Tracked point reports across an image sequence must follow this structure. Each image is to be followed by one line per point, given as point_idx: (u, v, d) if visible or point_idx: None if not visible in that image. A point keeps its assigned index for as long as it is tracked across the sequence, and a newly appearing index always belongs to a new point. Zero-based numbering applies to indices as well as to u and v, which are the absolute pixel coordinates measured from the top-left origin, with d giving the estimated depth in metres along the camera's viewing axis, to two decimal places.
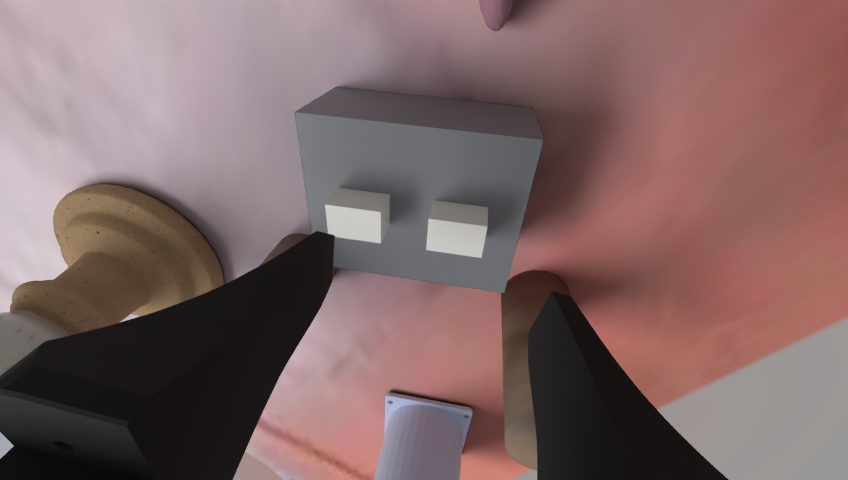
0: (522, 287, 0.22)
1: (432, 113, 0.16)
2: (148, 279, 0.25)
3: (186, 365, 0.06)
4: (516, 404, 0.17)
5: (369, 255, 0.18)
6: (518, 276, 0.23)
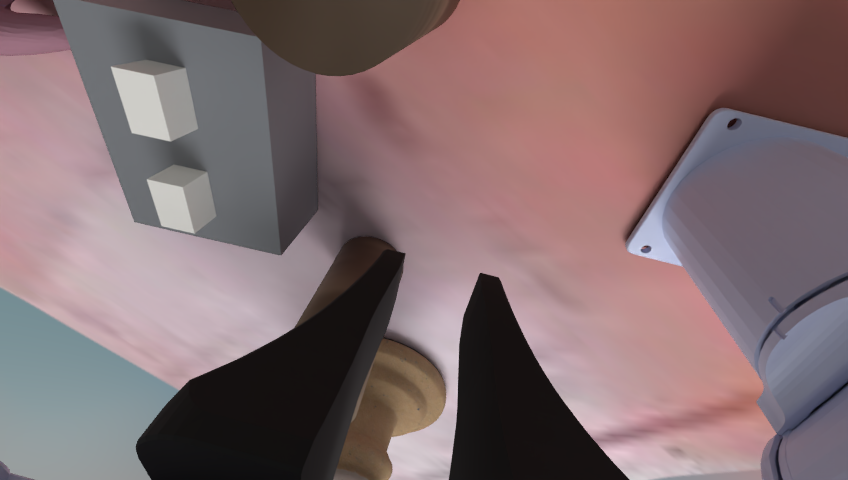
0: None
1: None
2: None
3: (325, 401, 0.06)
4: None
5: (252, 200, 0.17)
6: None
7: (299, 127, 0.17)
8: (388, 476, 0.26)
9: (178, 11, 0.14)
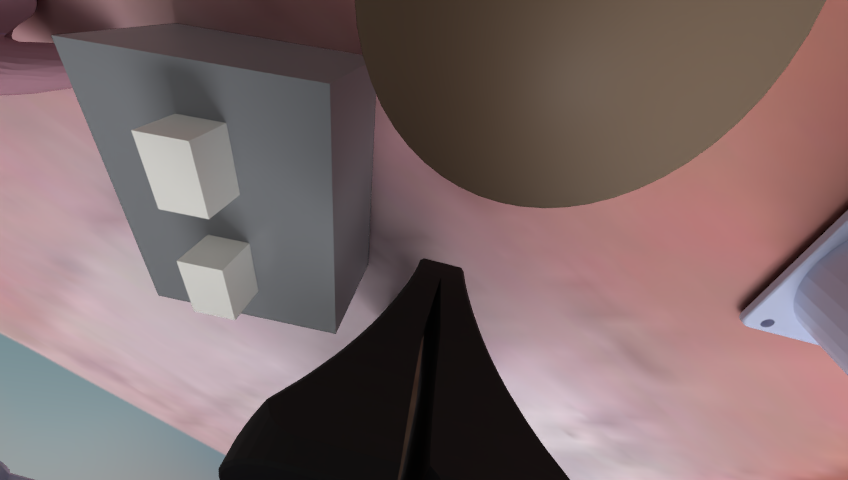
0: None
1: None
2: None
3: (399, 421, 0.06)
4: None
5: (305, 275, 0.14)
6: None
7: (358, 180, 0.14)
8: None
9: (214, 48, 0.11)
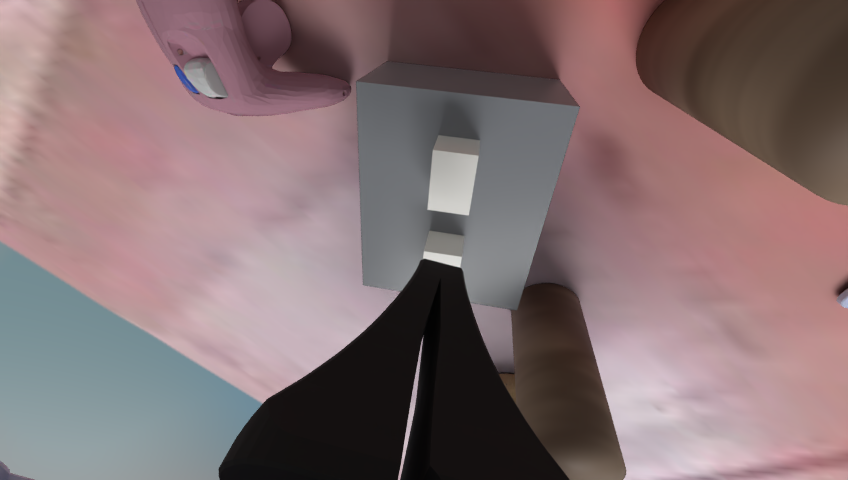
0: (647, 71, 0.15)
1: None
2: None
3: (399, 421, 0.06)
4: (768, 159, 0.09)
5: (505, 260, 0.17)
6: (639, 70, 0.16)
7: None
8: None
9: (457, 82, 0.14)
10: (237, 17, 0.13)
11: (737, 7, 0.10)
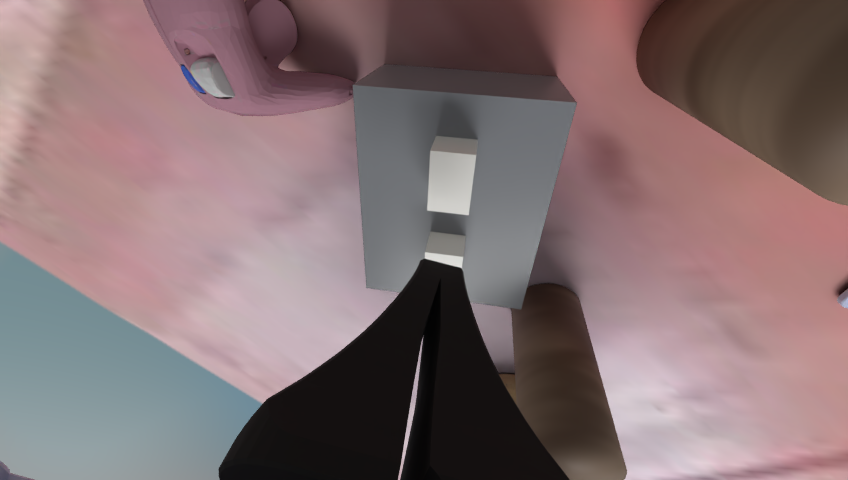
0: (648, 71, 0.15)
1: None
2: None
3: (399, 421, 0.06)
4: (769, 159, 0.09)
5: (508, 259, 0.17)
6: (639, 71, 0.16)
7: None
8: None
9: (454, 82, 0.14)
10: (244, 16, 0.13)
11: (738, 7, 0.10)
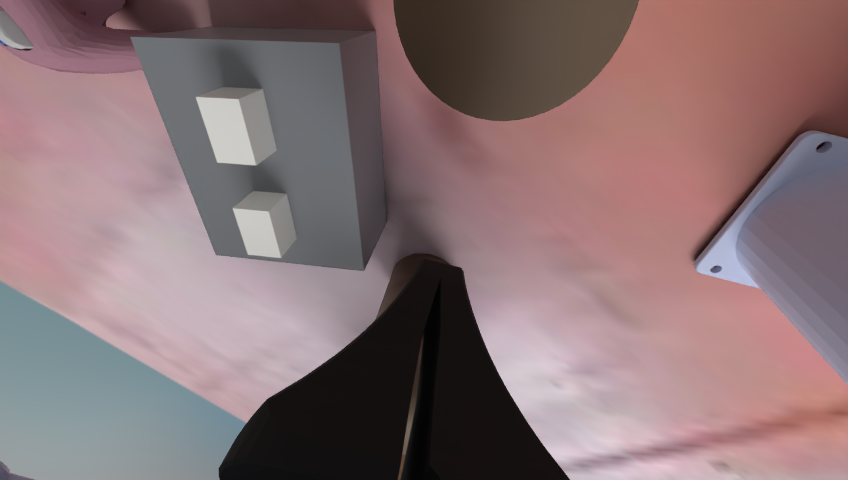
0: None
1: None
2: None
3: (399, 421, 0.06)
4: None
5: (333, 217, 0.16)
6: None
7: (370, 136, 0.17)
8: None
9: (247, 34, 0.14)
10: None
11: None
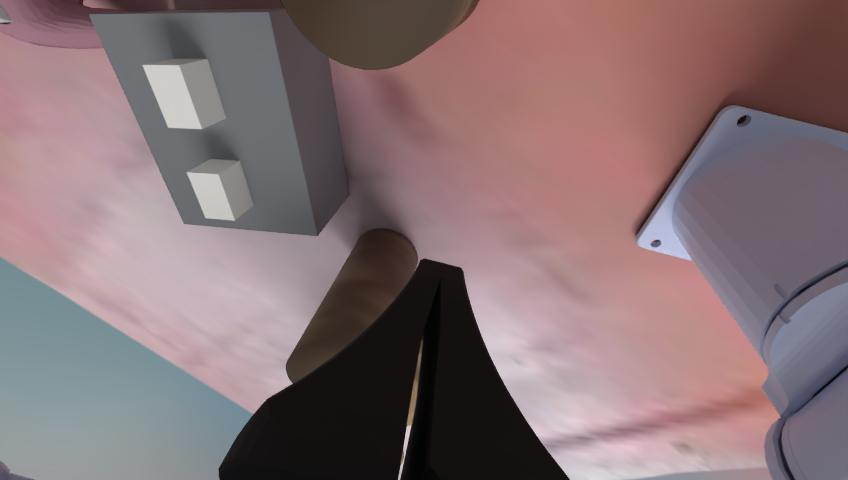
0: None
1: None
2: None
3: (399, 421, 0.06)
4: None
5: (284, 183, 0.18)
6: None
7: (318, 107, 0.18)
8: None
9: (196, 11, 0.16)
10: None
11: None
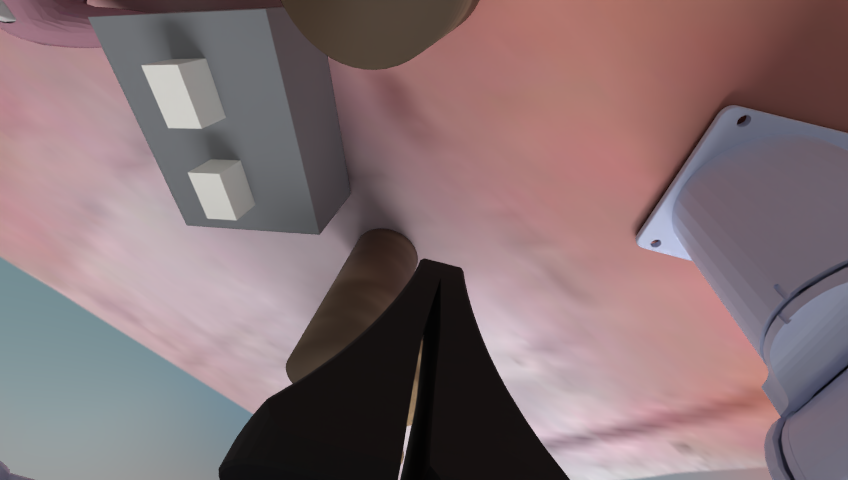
0: None
1: None
2: None
3: (399, 421, 0.06)
4: None
5: (285, 181, 0.18)
6: None
7: (318, 104, 0.18)
8: None
9: None
10: None
11: None
